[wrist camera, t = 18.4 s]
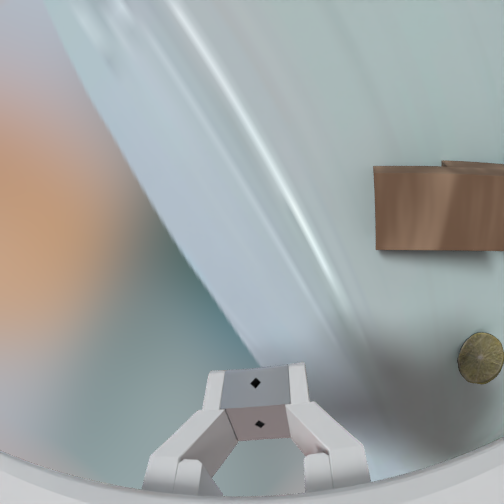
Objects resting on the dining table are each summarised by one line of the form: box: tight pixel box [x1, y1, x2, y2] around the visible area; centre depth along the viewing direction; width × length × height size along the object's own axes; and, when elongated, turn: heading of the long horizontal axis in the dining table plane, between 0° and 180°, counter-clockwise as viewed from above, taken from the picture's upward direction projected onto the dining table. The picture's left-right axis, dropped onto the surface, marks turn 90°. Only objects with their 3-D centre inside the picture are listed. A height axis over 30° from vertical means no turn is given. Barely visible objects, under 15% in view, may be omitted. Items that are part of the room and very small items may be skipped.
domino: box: [373, 166, 504, 251], centre depth 18 cm, size 2×5×10 cm
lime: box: [457, 333, 504, 384], centre depth 24 cm, size 4×5×5 cm
